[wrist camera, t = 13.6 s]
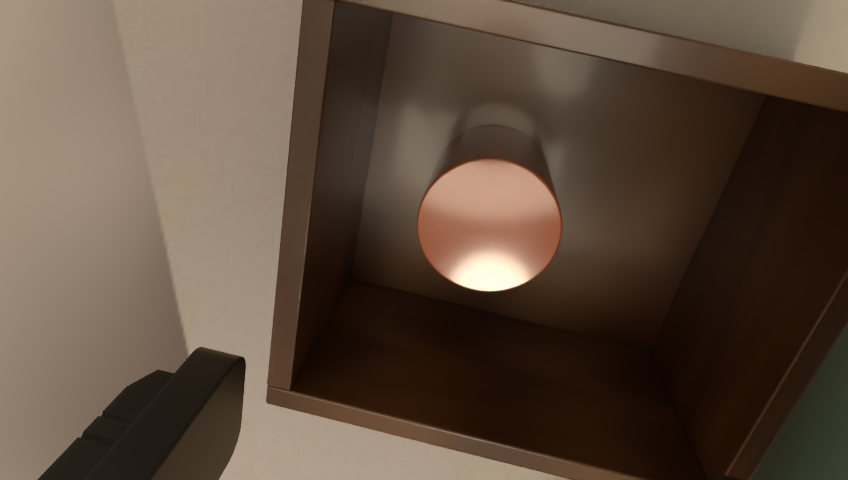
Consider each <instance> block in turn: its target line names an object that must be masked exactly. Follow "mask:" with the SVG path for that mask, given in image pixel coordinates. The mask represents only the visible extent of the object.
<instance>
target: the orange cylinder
mask: <svg viewBox="0 0 848 480" xmlns="http://www.w3.org/2000/svg"><path fill="white" fill-rule="evenodd" d="M562 229H563V222H562V214H561V209H560V205H559V201H558V198H557V194H556V191H555V187H554V184H553V180H552V177H551V173H550V170H549V166H548V163H547V160H546V158H545V156H544V154H543V153H542V151H541V150H540V148H539V147H538V146H537V145H536V144H535V143H534V142H533V141H532V140H531V139H530V138H529V137H527V136H526V135H524V134H523V133H521V132H519V131H517V130H514V129H511V128H508V127H504V126H494V125H489V126H481V127H476V128H473V129H470V130H468V131H466V132H464V133H462V134H460V135H459V136H457V137H456V138H454V139H453V140H452V141H451V142H450V143H449V144H448V145H447V146H446V147H445V149H444V150H443V151H442V153H441V155H440V156H439V158H438V161H437V163H436V165H435V168H434V170H433V173H432V175H431V178H430V180H429V183H428V185H427V187H426V190H425V192H424V195H423V197H422V200H421V202H420V206H419V209H418V214H417V235H418V239H419V243H420V246H421V248H422V251H423V253H424V255H425V256H426V258H427V260H428V261H429V262H430V264H431V265H432V266H433V267H434V268H435V269H436V270H437V271H438V272H439V273H440V274H441V275H442V276H443V277H445V278H446V279H448V280H449V281H451V282H453V283H454V284H457V285H459V286H461V287H464V288H467V289H470V290H475V291H480V292H499V291H505V290H510V289H513V288H516V287H519V286H521V285H523V284H525V283H527V282H529V281H531V280H532V279H534V278H535V277H536V276H538V275H539V274H540V273H541V272H542V271H543V270H544V269H545V268H546V267H547V266H548V265H549V263H550V262H551V261H552V259H553V257H554V256H555V254H556V252H557V249H558V247H559V245H560V241H561V237H562Z"/></svg>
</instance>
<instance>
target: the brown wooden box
mask: <svg viewBox="0 0 848 480" xmlns="http://www.w3.org/2000/svg"><path fill="white" fill-rule="evenodd" d="M489 125H494V126H504V127H508V128H511V129H514V130H517V131H519V132H521V133H523V134H524V135H526V136H527V137H529V138H530V139H531V140H532V141H533V142H534V143H535V144H536V145H537V146H538V147H539V148H540V150H541V151H542V153H543V154H544V156H545V158H546V160H547V163H548V166H549V170H550V173H551V177H552V180H553V184H554V187H555V191H556V194H557V198H558V201H559V205H560V209H561V214H562V222H563V229H562V237H561V241H560V245H559V247H558V249H557V252H556V254H555V256H554V257H553V259H552V261H551V262H550V263H549V265H548V266H547V267H546V268H545V269H544V270H543V271H542V272H541V273H540V274H539V275H538V276H536V277H535V278H534V279H532V280H531V281H529V282H527V283H525V284H523V285H521V286H519V287H516V288H513V289H510V290H505V291H499V292H480V291H475V290H470V289H467V288H464V287H461V286H459V285H457V284H454V283H453V282H451V281H449V280H448V279H446V278H445V277H443V276H442V275H441V274H440V273H439V272H438V271H437V270H436V269H435V268H434V267H433V266H432V265H431V264H430V262H429V261H428V260H427V258H426V256H425V255H424V253H423V251H422V248H421V246H420V243H419V239H418V235H417V214H418V209H419V206H420V202H421V200H422V197H423V195H424V192H425V190H426V187H427V185H428V183H429V180H430V178H431V175H432V173H433V170H434V168H435V165H436V163H437V161H438V158H439V156H440V155H441V153H442V151H443V150H444V149H445V147H446V146H447V145H448V144H449V143H450V142H451V141H452V140H453V139H454V138H456V137H457V136H459V135H460V134H462V133H464V132H466V131H468V130H470V129H473V128H476V127H481V126H489ZM847 325H848V73H844V72H839V71H835V70H830V69H825V68H821V67H816V66H811V65H807V64H802V63H798V62H793V61H788V60H784V59H779V58H774V57H770V56H765V55H761V54H756V53H751V52H747V51H742V50H738V49H733V48H728V47H724V46H719V45H714V44H710V43H705V42H701V41H696V40H691V39H687V38H682V37H677V36H673V35H668V34H664V33H659V32H654V31H650V30H645V29H641V28H636V27H631V26H627V25H622V24H617V23H613V22H608V21H604V20H599V19H594V18H590V17H585V16H581V15H576V14H571V13H567V12H562V11H557V10H553V9H548V8H544V7H539V6H534V5H530V4H525V3H520V2H516V1H511V0H303V5H302V16H301V27H300V37H299V48H298V59H297V70H296V80H295V91H294V102H293V113H292V123H291V134H290V145H289V156H288V166H287V177H286V188H285V199H284V209H283V220H282V231H281V242H280V252H279V263H278V274H277V285H276V296H275V306H274V317H273V328H272V339H271V349H270V360H269V371H268V382H267V385H268V386H267V397H266V402H267V403H268V404H272V405H276V406H280V407H284V408H288V409H292V410H296V411H300V412H304V413H308V414H312V415H316V416H320V417H324V418H328V419H332V420H336V421H340V422H344V423H348V424H352V425H356V426H360V427H364V428H368V429H372V430H376V431H380V432H384V433H388V434H392V435H396V436H400V437H404V438H408V439H412V440H416V441H420V442H424V443H428V444H432V445H436V446H440V447H444V448H448V449H452V450H456V451H460V452H464V453H468V454H472V455H476V456H480V457H484V458H488V459H492V460H496V461H500V462H504V463H508V464H512V465H516V466H520V467H524V468H528V469H532V470H536V471H540V472H544V473H548V474H552V475H556V476H560V477H564V478H568V479H572V480H709V479H710V478H711V477H712V476H714V475H717V474H721V475H725V476H729V477H734V478H738V479H742V480H750V479H751V478H752V476H753V475H754V473H755V471H756V470H757V468H758V467H759V465H760V464H761V462H762V460H763V459H764V457H765V456H766V454H767V452H768V451H769V449H770V448H771V446H772V444H773V443H774V441H775V440H776V438H777V436H778V435H779V433H780V432H781V430H782V429H783V427H784V425H785V424H786V422H787V421H788V419H789V417H790V416H791V414H792V413H793V411H794V409H795V408H796V406H797V405H798V403H799V402H800V400H801V398H802V397H803V395H804V394H805V392H806V390H807V389H808V387H809V386H810V384H811V382H812V381H813V379H814V378H815V376H816V374H817V373H818V371H819V370H820V368H821V367H822V365H823V363H824V362H825V360H826V359H827V357H828V355H829V354H830V352H831V351H832V349H833V347H834V346H835V344H836V343H837V341H838V339H839V338H840V336H841V335H842V333H843V332H844V330H845V328H846V327H847Z"/></svg>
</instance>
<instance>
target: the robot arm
mask: <svg viewBox="0 0 848 480" xmlns="http://www.w3.org/2000/svg"><path fill="white" fill-rule="evenodd" d="M245 369H246V363H245V359H244V358H243V357H241V356H237V355H233V354H228V353H224V352H220V351H216V350H212V349H208V348H204V347H199V348H197V349H196V350H195V351H194V352H193V353H192V354H191V355H190V356H189V357H188V358H187V360H186V361H185V362H184V363H183V364H182V365H181V367H180V368H179V369H178V370H177V371H176V372H175V373H170V372H166V371H161V370H156V371H155V372H153V373H151V374H149V375H147V376H145V377H144V378H142V379H140V380H138V381H136V382H134V383H133V384H131V385H129V386H127V387H126V388H125V389H124V390H123V391H122V392H121V393H120V394H119V395H118V396H117V397H116V398H115V399H114V400H113V401H112V402H111V404H110V405H109V406H108V407H107V408H106V409H105V410H104V411H103V414H102V416H101V417H100V416H98V417H97V418H96V419H95V420H94V421H93V422H92V423H91V424H90V425H89V426H88V427H87V429H86V430H85V431H84V432H83V435H82V437H81V438H77V439H76V440H75V441H74V442H73V443H72V444H71V445H70V446H69V447H68V448H67V450H65V452H64V453H63V454H62V455H61V456H60V457H59V458H58V459H57V460H56V461H55V462H54V463H53V464H52V465H51V466H50V467H49V468H48V469H47V470H46V471H45V472H44V474H43V475H41V477H40V478H39V479H38V480H219V478H220V476H221V475H222V473H223V471H224V469H225V468H226V466H227V464H228V462H229V461H230V458H231V456H232V454H233V452H234V449H235V446H236V444H237V440H238V437H239V433H240V428H241V420H242V407H243V394H244V382H245ZM709 480H742V479H738V478H734V477H729V476H725V475H721V474H717V475H714V476H712V477H711V478H710V479H709Z"/></svg>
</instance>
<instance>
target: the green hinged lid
mask: <svg viewBox="0 0 848 480" xmlns="http://www.w3.org/2000/svg"><path fill="white" fill-rule="evenodd" d="M750 480H848V325H847V327H846V328H845V330H844V332H843V333H842V335H841V336H840V338H839V339H838V341H837V343H836V344H835V346H834V347H833V349H832V351H831V352H830V354H829V355H828V357H827V359H826V360H825V362H824V363H823V365H822V367H821V368H820V370H819V371H818V373H817V374H816V376H815V378H814V379H813V381H812V382H811V384H810V386H809V387H808V389H807V390H806V392H805V394H804V395H803V397H802V398H801V400H800V402H799V403H798V405H797V406H796V408H795V409H794V411H793V413H792V414H791V416H790V417H789V419H788V421H787V422H786V424H785V425H784V427H783V429H782V430H781V432H780V433H779V435H778V436H777V438H776V440H775V441H774V443H773V444H772V446H771V448H770V449H769V451H768V452H767V454H766V456H765V457H764V459H763V460H762V462H761V464H760V465H759V467H758V468H757V470H756V471H755V473H754V475H753V476H752V478H751V479H750Z"/></svg>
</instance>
